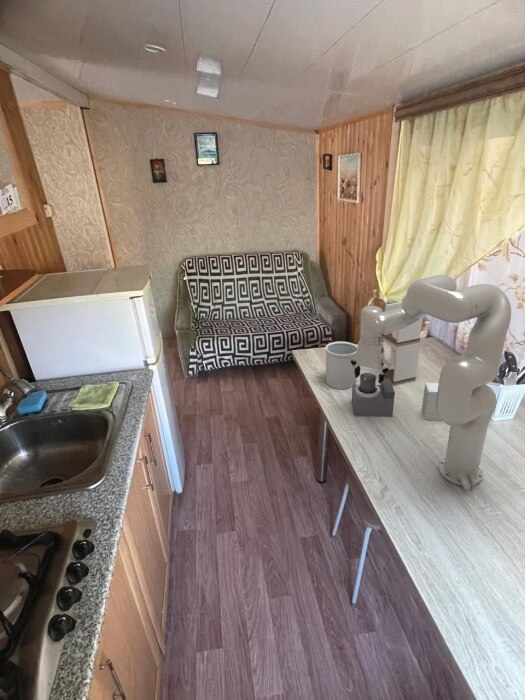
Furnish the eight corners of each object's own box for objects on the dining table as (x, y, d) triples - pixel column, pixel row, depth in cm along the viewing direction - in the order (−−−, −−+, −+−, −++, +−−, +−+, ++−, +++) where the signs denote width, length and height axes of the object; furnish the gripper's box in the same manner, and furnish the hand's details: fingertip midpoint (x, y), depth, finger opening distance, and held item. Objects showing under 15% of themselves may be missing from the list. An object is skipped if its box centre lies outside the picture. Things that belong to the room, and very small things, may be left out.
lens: (377, 390, 156) (378, 374, 153) (371, 397, 152) (372, 381, 149) (363, 386, 160) (364, 371, 157) (357, 393, 155) (357, 377, 152)
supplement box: (445, 421, 148) (449, 392, 143) (424, 420, 150) (428, 391, 144) (441, 410, 154) (445, 382, 149) (421, 409, 156) (424, 382, 151)
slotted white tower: (401, 370, 186) (407, 300, 172) (415, 380, 177) (423, 307, 162) (380, 375, 183) (385, 304, 169) (393, 385, 174) (400, 311, 160)
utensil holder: (337, 371, 190) (337, 338, 183) (363, 380, 180) (365, 346, 173) (318, 382, 181) (318, 348, 173) (345, 393, 171) (346, 357, 163)
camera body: (392, 416, 153) (394, 392, 148) (353, 415, 155) (354, 391, 150) (388, 401, 163) (390, 378, 158) (351, 400, 165) (352, 378, 160)
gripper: (396, 339, 144) (394, 380, 151) (353, 332, 154) (352, 370, 161) (389, 346, 139) (386, 388, 145) (345, 338, 149) (344, 378, 155)
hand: (369, 379), depth 153 cm, fingers open, 9 cm apart
